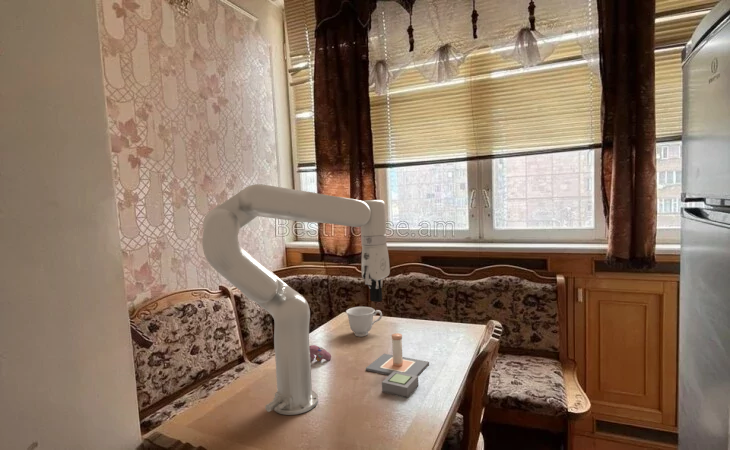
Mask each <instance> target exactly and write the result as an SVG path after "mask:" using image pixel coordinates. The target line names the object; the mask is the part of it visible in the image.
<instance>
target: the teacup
mask: <svg viewBox="0 0 730 450" xmlns="http://www.w3.org/2000/svg"><path fill="white" fill-rule="evenodd" d="M345 313H346V314H347V318H348V323H349V328H350V330H351V331H352V332H353V333H354V336H356V337H360V338H361V337H367V336H368V335H369V331H371V330H372V329H373V325H374V324H375V323H377V322H379V321H381V320H382V317H383V313H382V311H381V310H379V309H376V310H375V308H373V307H370V306H354V307H350V308H348V309H346V310H345ZM377 314H379V317H378V318H376V319H375V320H373V319H374V316H375V317H376V315H377Z"/></svg>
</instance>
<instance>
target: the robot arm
mask: <svg viewBox="0 0 730 450" xmlns="http://www.w3.org/2000/svg"><path fill="white" fill-rule="evenodd" d="M257 217H260V218H269V219H277V220H285V221H292V222H294V221H295V222H302V223H316V224H317V223H319V224H330V225H339V226H344V227H345V226H346V227H353V228H360V240H361V248H362V249H361V263H360V264H361V265H360V267H361V277H362V279H363V280H364V285H367V286H368V288H369V294H370V295H369V297H370V301H371V302H373V303H374V302H375V303H376V302H377V303H380V302H382V301H383V281H384V280H385V279H386V278H387V277H388V276H389V275H390V274H391V270H390V258H389V257H390V256H389V250H388V245H387V224H386V223H387V222H386V220H387V219H386V218H387V217H386V203H385V201H384V200H381V199H367V200H365V199H364V200H359V199H354V198H348V197H342V196H335V195H327V194H323V193H317V192H312V191H307V190H299V189H294V188H287V187H280V186H275V185H267V184H262V183H261V184H259V183H258V184H256V183H255V184H253V185H252V184H251V185H248V186H246V187H245V188H242V189H241V190H240V191H239V192H237V193H236V194H234V195H233V196H232V197H230V198H229V199H227V200H225V201H224V202H222V203H221V204H219V205H218V206H216V207H214V208H213V209H211V210H210V211H208V212H207V213H206V214H205V216H204V218H203V220H202V229H203V232H202V241H201V242H202V243H201V245H202V250H203V254H204V256H205V259H206V261H207V262H208V263H209V265H210V266H211V267H212V268H213V269H214V270H215V271H216V272H217V273H218V274H219V275H220V276H222V277H223V278H224V279H226V281H228V282H229V283H230V284H232V286H234V287H235V288H236V289H237V290H239V291H240V292H241V293H242V294H243V296H245V297H246V298H247V299H249V300H250V301H252V302H255V304H257V305H259V307H261V308H263V310H265V311H266V312H268V313H269V315H270V316H272V318H273V320H274V321H273V322H274V332H273V333H274V334H273V344H274V345H273V347H274V355H275V356H274V357H275V358H274V359H275V374H276V375H275V376H276V389H277V391H276V392H275V393H274V398H272V401H270V402H269V403H266V404H265V411H266V412H267V413H270V412H272V411H274V412H275V413H278V414H280V415H284V416H285V415H286V416H294V415H299V414H304V413H307V412H308V411H311V410H312V409H313V408H315V407H316V405H317V404H318V403H319V395H318V394H317V392H316V391H313V387H312V386H313V385H312V384H313V383H312V365H311V360H310V346H311V345H310V320H311V310H310V305H309V303H308V301H307V299H306V298H305V297H304V296H303V295H302V294H300V293H299V292H298V291H296V290H295V289H294V288H293V287H291V286H289V285H288V284H287V283H286V282H284V281H283V280H282V279H281V278H280V277H279V276H278V275H276V274H275V273H274V272H273V271H272V270H271V269H270V268H269V267H267V266H266V265H265V264H263V263H260V262H259V261H258V260H257V259H256V258H255V257H253V256H252V255H251V254H250V253H249V252H248V251H247V250H246V249H244V248H243V247H242V246H241V244H240V241H239V233H240V230H241V228H242V227H243V228H244V227H245V226H246V225H247V224H249V223H250V222H251V221H253V220H254V219H256V218H257Z"/></svg>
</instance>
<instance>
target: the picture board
mask: <svg viewBox="0 0 730 450" xmlns="http://www.w3.org/2000/svg"><path fill="white" fill-rule="evenodd" d="M402 359H403V365H402V366H400V367H396V366H393V354H389V353H383V354H382V355H380V356H379V357H377V358H376V359H375V360H374V361H372V362H371V363H370V364H369V365H368V366H367V367H365V371H368V372H373V373H377V374H381V375H386V376H389V375H390V374H391V373H392V372H393V371H396V372H401V373H406V374H411V375H415V376H418V377H419V376H420V375H421V374H422V373H423V371H424V370H425V369H426V368H428V366H429V365H430V361H426V360H421V359H416V358H410V357H405V356H402Z"/></svg>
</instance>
